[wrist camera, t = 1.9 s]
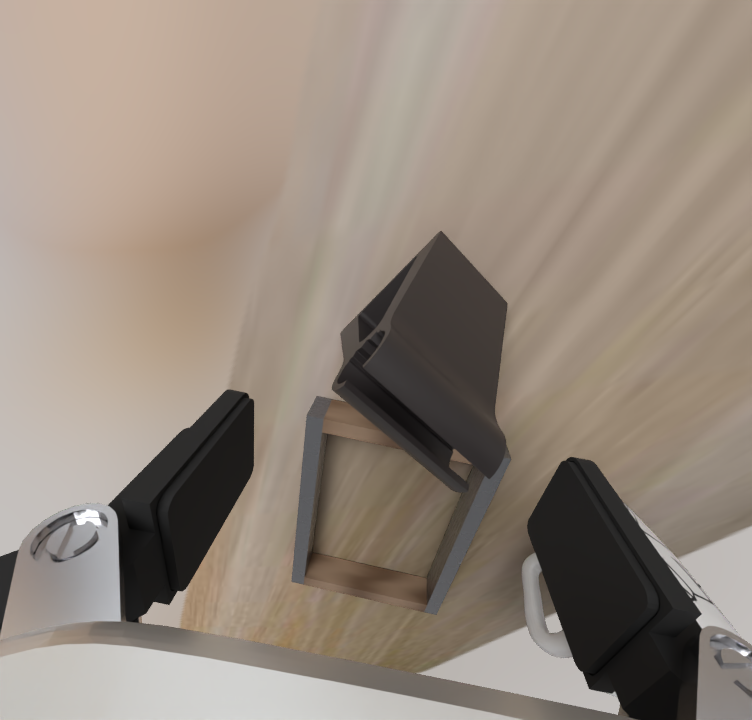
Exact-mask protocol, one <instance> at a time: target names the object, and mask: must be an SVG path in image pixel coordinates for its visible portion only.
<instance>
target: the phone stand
mask: <svg viewBox="0 0 752 720" xmlns="http://www.w3.org/2000/svg"><path fill="white" fill-rule="evenodd" d="M506 311H507V302H506V301H505V300H504V299H503V298H502V297H501V296H500V295H499V293H498V292H497V291H496V290H495V289H494V288H493V287H492V286H491V285H490V284H489V282H488V281H487V280H486V279H485V278H484V277H483V276H482V275H481V274H480V273H479V272H478V270H477V269H476V268H475V267H474V266H473V265H472V264H471V263H470V262H469V261H468V260H467V258H466V257H465V256H464V255H463V254H462V253H461V252H460V251H459V250H458V249H457V247H456V246H455V245H454V244H453V243H452V242H451V241H450V240H449V239H448V238H447V237H446V235H445V234H444V233H443V232H442V231H440V232H439V233H438V234H437V235H436V236H435V237H434V238H433V239H432V240H431V241H430V242H429V243H428V244H427V245H426V246H425V247H424V248H423V249H422V250H421V251H420V252H419V253H418V254H417V255H416V256H415V257H414V258H413V259H412V260H411V261H410V262H409V263H408V264H407V265H406V266H405V267H404V268H403V269H402V270H401V271H400V272H399V273H398V274H397V275H396V276H395V277H394V279H393V280H392V281H391V282H390V283H389V284H388V285H387V286H386V287H385V288H384V289H383V290H382V291H381V292H380V293H379V294H378V295H377V296H376V297H375V298H374V299H373V300H372V301H371V302H370V303H369V304H368V305H367V306H366V307H365V308H364V309H363V310H362V311H361V312H360V313H359V314H358V315H357V316H356V317H355V318H354V319H353V320H352V321H351V322H350V323H349V324H348V325H347V326H346V327H345V328H344V330H343V331H342V332H341V341H342V349H343V357H344V362H343V365H342V367H341V369H340V371H339V373H338V375H337V377H336V379H335V380H334V382H333V385H332V390H333V391H334V392H336V393H337V394H338V395H339V396H340V397H341V398H343V399H344V400H345V401H346V402H347V403H349V404H350V405H351V406H352V407H353V408H355V409H356V410H357V411H358V412H359V413H361V414H362V415H363V416H364V417H365V418H367V419H368V420H369V421H370V422H371V423H372V424H374V425H375V426H376V427H377V428H378V429H380V430H381V431H382V432H383V433H384V434H386V435H387V436H388V437H389V438H390V439H392V440H393V441H394V442H395V443H396V444H397V445H399V446H400V447H401V448H402V449H403V450H405V451H406V452H407V453H408V454H409V455H411V456H412V457H413V458H414V459H415V460H417V461H418V462H419V463H420V464H421V465H423V466H424V467H425V468H426V469H427V470H428V471H430V472H431V473H432V474H433V475H434V476H436V477H437V478H438V479H439V480H440V481H442V482H443V483H444V484H445V485H446V486H448V487H449V488H450V489H451V490H453V491H455V492H468V490H469V484H468V483H467V482H466V481H464V480H463V479H462V478H461V477H460V476H459V475H457V474H456V473H455V472H454V471H453V470H452V469H450V468H449V462H450V459H451V456H452V454H453V449H456V450H457V451H458V452H459V453H460V454H461V455H462V456H463V457H465V458H466V459H467V460H468V461H469V462H470V463H471V464H472V465H474V466H475V467H476V468H477V469H478V470H479V471H480V472H482V473H483V474H484V475H485V476H486V477H487V478H488V479H490V478H491V477H492V476H493V475H494V474H495V473H496V471H497V470H498V468H499V467H500V465H501V463H502V461H503V458H504V455H505V451H506V439H505V436H504V434H503V432H502V431H501V429H500V428H499V426H498V424H497V421H496V416H495V403H496V394H497V386H498V378H499V369H500V361H501V353H502V345H503V336H504V328H505V320H506Z"/></svg>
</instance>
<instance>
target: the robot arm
mask: <svg viewBox="0 0 752 720" xmlns="http://www.w3.org/2000/svg"><path fill="white" fill-rule="evenodd" d="M253 466H254V400H253V399H249V395H248V394H247V393H244V392H239V391H234V390H226V391H225V392H224V393H223V394H222V395H221V396H220V397H219V398H218V399H217V401H216V402H214V403H213V404H212V405H211V407H209V409H208V410H207V411H206V412H205V413H204V414H203V415H202V416H201V417H200V418H199V419H198V420H197V421H196V422H195V423H194V424H193V425H192V426H191V427H190V428H186V429H184V430H182V431H181V432H180V433H179V434H178V435H177V436H176V437H175V438H174V439H173V440H172V441H171V442H170V443H169V444H168V445H167V446H166V447H165V448H164V449H163V450H162V451H161V452H160V453H159V454H158V455H157V456H156V457H155V458H154V459H153V460H152V461H151V462H150V463H149V464H148V465H147V466H146V467H145V468H144V469H143V470H142V472H140V473H139V474H138V475H137V477H135V478H134V479H133V480H132V481H131V482H130V483H129V484H128V485H127V487H125V488H124V489H123V490H122V491H121V493H119V495H118V496H116V498H115V499H114V500H113V501H112V502H111V503H110V504H109V505H108V506H107V505H103V504H99V503H96V504H95V503H92V504H91V503H90V504H89V503H87V504H83V505H77V506H73V507H70V508H68V509H65V510H62V511H60V512H58V513H56V514H54V515H52V516H51V517H49V518H47V519H45V520H44V521H43V522H41V523H40V524H39V525H38V526H36V527H35V528H34V529H32V531H31V532H30V533H29V534H28V535H27V537H26V538H25V539H24V540H23V542H22V544H21V546H20V549H19V550H17V551H14V552H11V553H9V554H6V555H3V556H1V557H0V720H752V645H751V644H749V643H748V642H747V641H745V640H744V639H742V638H740V637H739V636H737V635H735V634H734V633H732V632H730V631H728V630H725V629H723V628H720V627H716V626H707V627H705V628H701V627H700V625H699V624H698V622H697V621H696V619H697V618H698V617H699V616H700V615H702V613H701V612H700V611H699V609H698V608H697V606H696V605H695V603H694V602H693V601H692V599H691V598H690V596H689V595H688V594H687V592H686V591H685V589H684V588H683V587H682V585H681V584H680V582H679V581H678V579H677V578H676V577H675V575H674V574H673V572H672V571H671V570H670V568H669V567H668V565H667V564H666V563H665V561H664V560H663V558H662V557H661V556H660V554H659V553H658V551H657V550H656V548H655V547H654V546H653V544H652V543H651V541H650V540H649V539H648V537H647V536H646V534H645V533H644V532H643V530H642V529H641V527H640V526H639V524H638V523H637V522H636V520H635V519H634V517H633V516H632V515H631V513H630V512H629V510H628V509H627V508H626V506H625V505H624V503H623V502H622V500H621V499H620V498H619V496H618V495H617V493H616V492H615V491H614V489H613V488H612V486H611V485H610V484H609V482H608V481H607V479H606V478H605V477H604V475H603V474H602V472H601V471H600V469H599V468H598V467H597V465H596V464H595V463H594V462H592V461H590V460H585V459H579V458H574V457H570V458H568V459H567V460H566V461H562V462H561V463H560V465H559V467H558V469H557V470H556V472H555V474H554V476H553V477H552V479H551V481H550V483H549V484H548V486H547V488H546V490H545V492H544V493H543V495H542V497H541V499H540V500H539V502H538V504H537V506H536V508H535V509H534V511H533V513H532V515H531V516H530V518H529V520H528V525H527V529H528V534H529V536H530V539H531V542H532V545H533V548H534V550H535V553H536V556H537V559H538V562H539V564H540V567H541V570H542V573H543V576H544V578H545V581H546V584H547V587H548V589H549V592H550V595H551V598H552V601H553V603H554V606H555V609H556V612H557V615H558V617H559V620H560V623H561V626H562V628H563V631H564V634H565V637H566V640H567V642H568V645H569V648H570V651H571V654H572V656H573V659H574V662H575V664H576V666H577V667H578V669H579V670H580V671H582V672H583V674H584V676H585V679H586V682H587V684H588V687H589V689H591V690H596V691H601V692H606V693H611V694H612V693H613V692H616V695H617V697H618V699H619V702H620V708H619V713H618V715H615V714H611V713H606V712H601V711H596V710H592V709H587V708H582V707H577V706H572V705H568V704H563V703H557V702H553V701H548V700H543V699H539V698H533V697H529V696H524V695H519V694H514V693H510V692H505V691H500V690H495V689H490V688H485V687H480V686H475V685H470V684H465V683H460V682H455V681H450V680H446V679H440V678H435V677H431V676H426V675H421V674H416V673H411V672H406V671H401V670H396V669H391V668H386V667H381V666H376V665H371V664H366V663H361V662H356V661H351V660H346V659H340V658H335V657H330V656H325V655H320V654H315V653H310V652H305V651H299V650H294V649H289V648H284V647H279V646H274V645H269V644H264V643H259V642H253V641H248V640H243V639H238V638H232V637H226V636H220V635H215V634H209V633H203V632H197V631H192V630H186V629H180V628H174V627H168V626H161V625H151V624H143V623H142V618H141V616H142V615H144V614H146V613H147V611H148V609H149V608H150V606H151V605H152V603H153V602H158V603H163V604H168V605H169V604H170V603H171V601H172V599H173V598H174V596H175V594H176V593H177V591H183V590H185V589H186V587H187V586H188V585H189V583H190V581H191V579H192V578H193V576H194V574H195V573H196V571H197V569H198V567H199V566H200V564H201V562H202V560H203V559H204V557H205V555H206V553H207V552H208V550H209V548H210V546H211V545H212V543H213V541H214V539H215V538H216V536H217V534H218V533H219V531H220V529H221V527H222V526H223V524H224V522H225V520H226V519H227V517H228V515H229V513H230V512H231V510H232V508H233V506H234V505H235V503H236V501H237V499H238V498H239V496H240V494H241V492H242V491H243V489H244V487H245V486H246V484H247V482H248V480H249V479H250V477H251V474H252V471H253Z"/></svg>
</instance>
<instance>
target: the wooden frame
mask: <svg viewBox="0 0 752 720" xmlns="http://www.w3.org/2000/svg"><path fill="white" fill-rule="evenodd" d="M327 434H332V435H337V436H341V437H346V438H351V439H355V440H360V441H365V442H369V443H374V444H379V445H383V446H388V447H393V448H397V449H402V448H401V447H400V446H399V445H397V444H396V443H395V442H394V441H393V440H392V439H390V438H389V437H388V436H387V435H386V434H384V433H383V432H382V431H381V430H380V429H378V428H377V427H376V426H375V425H374V424H372V423H371V422H370V421H369V420H368V419H367V418H365V417H364V416H363V415H362V414H361V413H359V412H358V411H357V410H356V409H355V408H353V407H352V406H351V405H350V404H349V403H347V402H342V401H337V400H333V399H328V398H323V397H319V396H317V397H316V399H315V401H314V403H313V404H312V406H311V408H310V410H309V412H308V414H307V419H306V430H305V441H304V452H303V463H302V474H301V485H300V496H299V507H298V518H297V529H296V540H295V550H294V561H293V572H292V582H295V583H300V584H304V585H308V586H313V587H317V588H321V589H326V590H330V591H335V592H339V593H343V594H348V595H352V596H356V597H361V598H365V599H370V600H374V601H378V602H383V603H387V604H391V605H396V606H400V607H405V608H409V609H413V610H418V611H422V612H426V613H431V614H435V615H436V614H437V612H438V610H439V608H440V606H441V604H442V602H443V600H444V598H445V596H446V594H447V592H448V589H449V587H450V585H451V583H452V581H453V579H454V577H455V575H456V573H457V571H458V569H459V567H460V565H461V562H462V560H463V558H464V556H465V554H466V552H467V550H468V548H469V546H470V544H471V542H472V540H473V538H474V535H475V533H476V531H477V529H478V527H479V525H480V523H481V521H482V519H483V517H484V515H485V513H486V511H487V508H488V506H489V504H490V502H491V500H492V498H493V496H494V494H495V492H496V490H497V488H498V486H499V483H500V481H501V479H502V477H503V475H504V473H505V471H506V469H507V467H508V465H509V463H510V461H511V457H510V454H509V451H508V448H507V446H506V451H505V455H504V458H503V461H502V463H501V465H500V467H499V468H498V470H497V471H496V473H495V474H494V475H493V476H492V477H491V478H490V479H488V478H487V477H486V476H485V475H484V474H483V473H482V472H480V471H479V470H478V469H477V468H476V467H475V466H474V465H473V468H472V470H471V473H470V475H469V477H468V480H467V483H468V484H469V490H468V492H462V494H461V497H460V499H459V501H458V504H457V506H456V509H455V511H454V513H453V516H452V518H451V521H450V523H449V525H448V528H447V530H446V533H445V535H444V537H443V540H442V542H441V545H440V547H439V550H438V552H437V554H436V557H435V559H434V562H433V564H432V566H431V569H430V571H429V574H428V576H427V578H423V577H419V576H414V575H410V574H405V573H401V572H397V571H392V570H388V569H383V568H379V567H374V566H370V565H366V564H361V563H357V562H352V561H348V560H343V559H339V558H335V557H330V556H326V555H321V554H317V553H312V548H313V541H314V533H315V525H316V518H317V510H318V503H319V495H320V487H321V480H322V472H323V465H324V457H325V449H326V442H327ZM402 450H403V449H402ZM450 460H453V461H458V462H462V463H467V464H471V463H470V462H469V461H468V460H467V459H466V458H465V457H463V456H462V455H461V454H460V453H459V452H458V451H457V450H456V449H453V454H452V456H451V459H450Z"/></svg>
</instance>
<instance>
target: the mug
mask: <svg viewBox="0 0 752 720" xmlns="http://www.w3.org/2000/svg"><path fill="white" fill-rule="evenodd" d="M624 505H625V506H626V508H627V509H628V510H629V512H630V513H631V515H632V516H633V517H634V519H635V520H636V522H637V523H638V524H639V526H640V527H641V529H642V530H643V532H644V533H645V534H646V536H647V537H648V539H649V540H650V541H651V543H652V544H653V546H654V547H655V548H656V550H657V551H658V553H659V554H660V556H661V557H662V558H663V560H664V561H665V563H666V564H667V565H668V567H669V568H670V570H671V571H672V572H673V574H674V575H675V577H676V578H677V579H678V581H679V582H680V584H681V585H682V587H683V588H684V589H685V591H686V592H687V594H688V595H689V596H690V598H691V599H692V601H693V602H694V603H695V605H696V606H697V608H698V609H699V611H700V612H701V613H702V615H700V616H699V617H698V618H697V619H696V621H697V622H698V624H699V625H700V627H701V628H705V627H707V626H716V627H720V628H723V629H725V630H728V631H730V632H732V633H734V634H735V635H737V636H739V637H740V638H741V636H740V635H739V634H738V632H737V631H736V630H735V629H734V627H733V626H732V625H731V624H730V622H729V621H728V620H727V619H726V617H725V616H724V615H723V614H722V613H721V611H720V610H719V609H718V607H717V606H716V605H715V604H714V603H713V602H712V600H711V599H710V598H709V596H708V595H707V594H706V593H705V591H704V590H703V589H702V588H701V586H700V585H699V584H698V583H697V582H696V580H695V579H694V578H693V577H692V575H691V574H690V573H689V572H688V571H687V569H686V568H685V567H684V566H683V565H682V563H681V562H680V561H679V560H678V559H677V558H676V556H675V555H674V554H673V553H672V552H671V551H670V550H669V549H668V548H667V547H666V546H665V545H664V544H663V542H662V541H661V540H660V539H659V538H658V537H657V536H656V535H655V534H654V533H653V532H652V531H651V530H650V529H649V528H648V527H647V526H646V525H645V524H644V523H643V522H642V521H641V519H640V518H639V517H638V516H637V515H636V514H635V513H634V512H633V511H632V510H631V509H630V508H629V507H628V506H627V505H626V504H624ZM541 571H542V570H541V567H540V564H539V562H538V559H537V556H536V553H533V554H531V555H530V556H528V557H527V558H526V559H525V561H524V563H523V565H522V582H523V591H524V608H525V618H526V623H527V626H528V630H529V633H530V635H531V637H532V639H533V641H534V642H535V643H536V644H537V645H538V646H539V647H540V648H541V649H542V650H544V651H545V652H547V653H548V654H550V655H552V656H555V657H560V658H569V657H573V656H572V654H571V651H570V648H569V645H568V642H567V640H566V637H565V634H564V631H563V630H562V631H560V632H558V633H549V631H548V629H547V626H546V622H545V618H544V612H543V605H542V599H541V592H540V586H539V573H540V572H541ZM607 694H610V695H612V696H615V697H617V695H616V692H613V693H612V694H611V693H607Z"/></svg>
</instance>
